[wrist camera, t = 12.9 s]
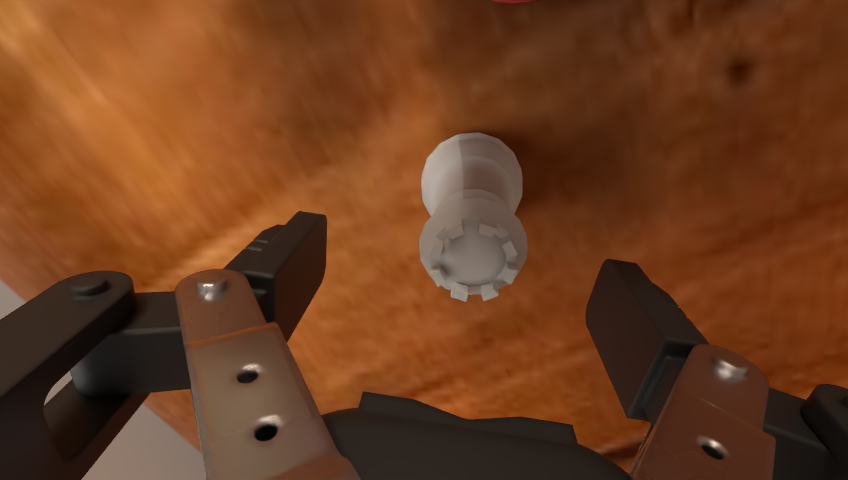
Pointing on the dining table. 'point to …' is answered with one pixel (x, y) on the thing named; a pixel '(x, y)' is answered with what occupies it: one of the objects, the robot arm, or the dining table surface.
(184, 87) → the dining table surface
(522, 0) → the canned food
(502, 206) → the rook chess piece
